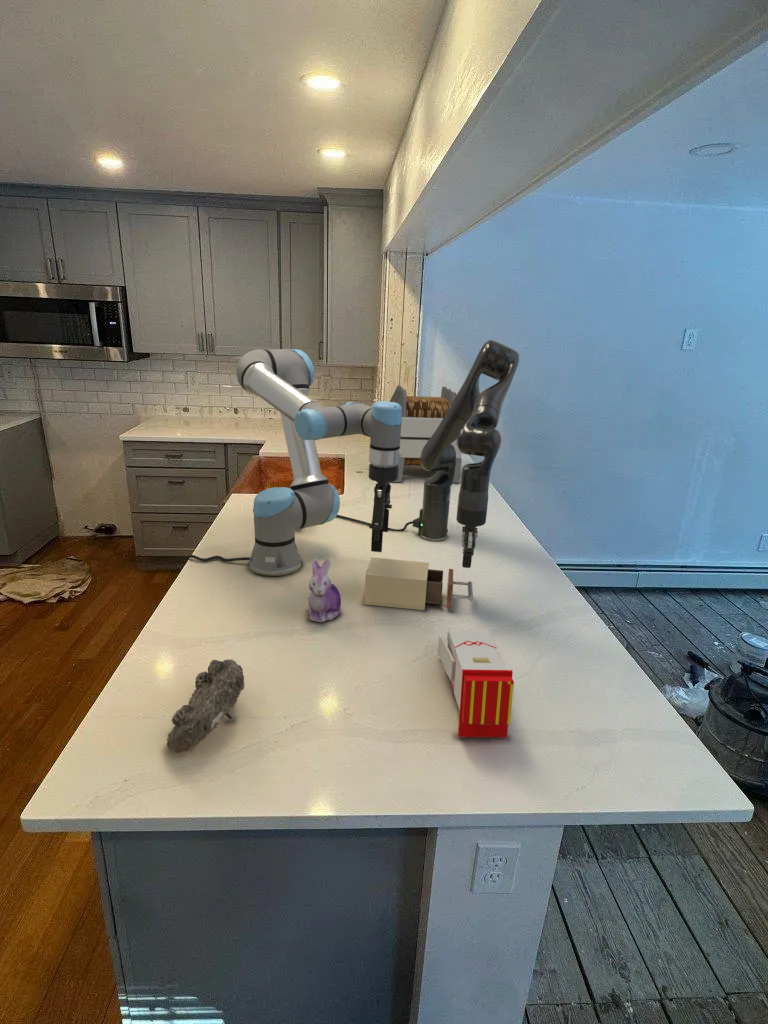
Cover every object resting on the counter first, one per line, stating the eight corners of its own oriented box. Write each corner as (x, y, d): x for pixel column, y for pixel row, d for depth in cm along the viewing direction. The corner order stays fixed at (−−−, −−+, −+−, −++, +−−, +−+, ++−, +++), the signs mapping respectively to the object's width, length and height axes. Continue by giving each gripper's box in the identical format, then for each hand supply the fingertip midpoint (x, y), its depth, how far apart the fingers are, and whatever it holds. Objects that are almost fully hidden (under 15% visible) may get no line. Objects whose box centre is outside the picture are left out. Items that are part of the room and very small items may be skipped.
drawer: (471, 592, 158) (473, 570, 156) (472, 610, 149) (474, 587, 147) (398, 586, 160) (399, 564, 158) (395, 603, 151) (396, 580, 149)
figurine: (314, 627, 139) (314, 572, 134) (300, 608, 148) (299, 555, 143) (349, 619, 143) (350, 565, 138) (333, 601, 152) (334, 550, 147)
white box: (382, 463, 289) (386, 382, 275) (445, 464, 293) (451, 384, 279) (390, 482, 257) (394, 392, 243) (460, 483, 261) (468, 394, 247)
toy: (488, 613, 130) (523, 677, 101) (484, 667, 133) (517, 744, 104) (435, 612, 130) (455, 676, 101) (432, 666, 133) (451, 743, 103)
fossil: (192, 660, 117) (244, 628, 112) (224, 691, 120) (276, 661, 115) (142, 746, 98) (202, 712, 93) (182, 779, 101) (242, 748, 96)
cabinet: (426, 590, 160) (428, 562, 157) (424, 610, 150) (426, 580, 147) (370, 585, 162) (371, 557, 159) (364, 604, 151) (365, 574, 148)
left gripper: (393, 479, 132) (388, 562, 139) (403, 453, 155) (398, 525, 162) (361, 476, 132) (358, 559, 140) (375, 450, 156) (372, 522, 163)
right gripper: (488, 514, 138) (481, 578, 144) (486, 498, 150) (479, 557, 156) (457, 512, 139) (451, 576, 144) (457, 495, 151) (452, 555, 157)
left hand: (379, 541), depth 151 cm, fingers open, 13 cm apart
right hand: (466, 566), depth 150 cm, fingers closed
